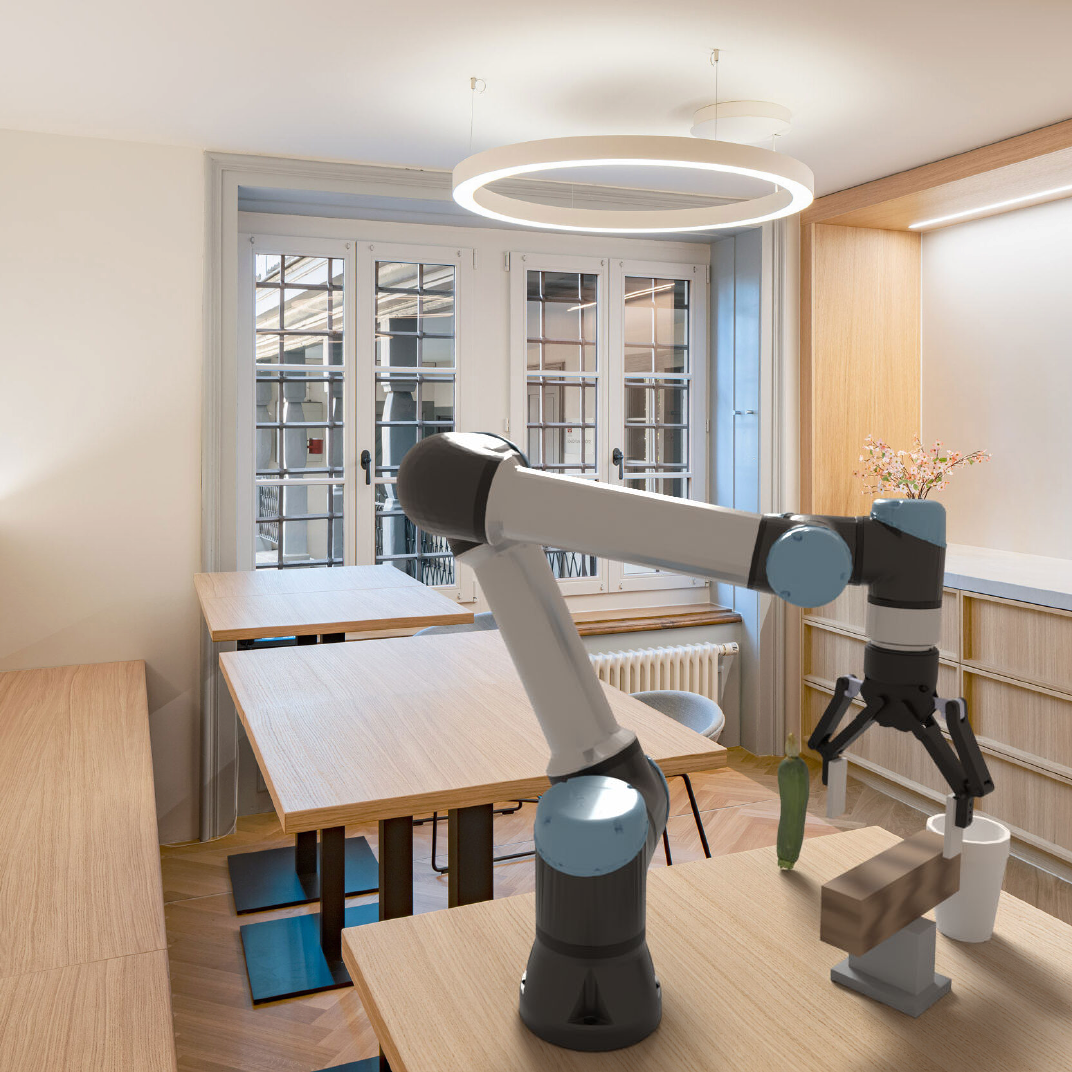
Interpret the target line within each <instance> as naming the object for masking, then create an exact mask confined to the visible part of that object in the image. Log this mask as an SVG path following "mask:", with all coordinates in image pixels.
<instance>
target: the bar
mask: <svg viewBox="0 0 1072 1072" xmlns="http://www.w3.org/2000/svg"><path fill="white" fill-rule="evenodd" d="M943 845H944V835H941V834H938V833H935V832H932V831H928V830H926V829H925V828H923V829H922V830H920V831H918V832H917V833H915V834H912V835H910V836H909V837H907V838H905V839H904V840H901V841H900V842H898V843H897V844H895V845H892V846H890V847H889V848H887V849H885V850H884V851H882V852H880V853H878V854H876V855H874V856H873V857H871V858H868V859H867V860H865V861H864V862H862V863H859V864H858V865H856V866H854V867H852V868H851V869H849V870H847V871H845V872H843V873H842V874H840V875H838V876H836V877H834V878H832V879H830V880H829V881H826V882H825V883H823V884H822V885H821V886H820V887H821V888H820V890H821V891H820V892H821V893H820V919H819V920H820V921H819V923H820V926H819V927H820V928H819V941H821V942H823V943H824V944H826V945H830V946H832V947H834V948H836V949H839V950H840V951H843V952H845V953H848V954H849V953H850V954H852V955H855V956H857V957H861V956H862V955H864V954H865V953H867V952H868V951H870V950H871V949H873V948H874V947H876V946H877V945H879V944H880V943H882V942H883V941H885V940H886V939H888V938H889V937H891V936H892V935H894V934H895V933H897V932H898V931H900V930H901V929H903V928H904V927H906V926H907V925H909V924H910V923H912V922H913V921H915V920H916V919H918V918H919V917H923V916H924V915H925V914H926V913H929V911H931V910H934V907H936V906H937V905H939V904H940V903H942V902H943V901H945V900H946V899H948V898H949V897H951V896H952V895H954V894H955V893H957V892H958V891H959V888H960V864H961V853H959V854H958V855H956V856H954V857H953V858H951V859H948V858H945V857H943Z"/></svg>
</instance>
